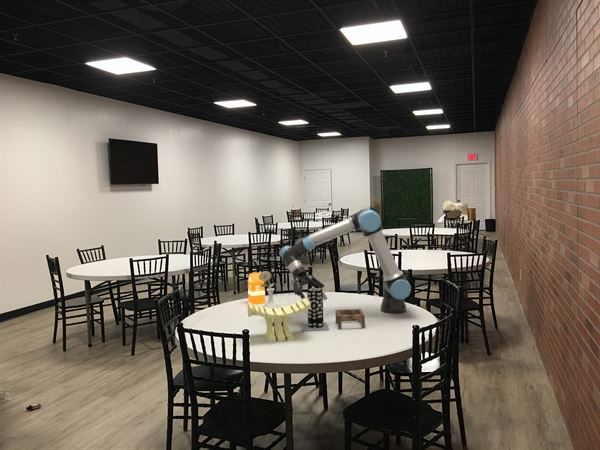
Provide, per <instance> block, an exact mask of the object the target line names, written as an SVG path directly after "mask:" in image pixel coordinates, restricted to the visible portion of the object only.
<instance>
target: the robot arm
mask: <svg viewBox="0 0 600 450" xmlns="http://www.w3.org/2000/svg"><path fill="white" fill-rule="evenodd" d="M359 230H361V233H362V235H363V237H364V238H366V239H368V242H369V244H370V246H371V248H372V250H373V252H374V255H375V257H376V259H377V262H378V264H379V265H380V269H381V270H382V272H383V274H382V285H383V287H382V291H383V293H382V294H383V295H382V296H383V298H382V301H381V304H380V311H381V313H382V312H383V313H385V314H401V313H405V312H407V304H406V302H405V300H404V299H406V298H408V297H409V296H410V294H411V291H412V286H411V284H410V282H409V281H408V280H407V277H405V274H404V271H402V270H400V269H399V267H398V265H397V262H396V260H395V259H394V255H393V253H392V252H391V250H390V247H389V244H388V243H387V240H386V237H385V236H384V233H383V231H384V227H383V225H382V221H381V217H380V215H379V214H378V212H376V211H375V210H373V209H367V208H364V209H361V210H359V211H357V212H355V213H353V214H351V215H348V216H347V218H346V219H343V220H340V221H339V222H337V223H335V224H332V225H329V226H327V227H325V228H322V229H320V230H317V231H315V232H313V233H310V234H308V235H305V236H303V237H299V238H297V240H296V241H295V244H294V245H293V246H290V245H285V246H283V247H282V248H281V249H280V250H279V255H280V258H281V259H282V261H283V263H284V264H285V266H286V267H287V268H288V270H289V272H290V274H292V277H293V278H292V280H291V282H292V283H293V284H292V285H293V289H294V291H293V292H294V295H295V296H296V295H297V296H298V297H300V299H301V300H302V299H304V298H306V299H307V300H308V298H307V294H305V291H303V288H304V287H303V286H305V285H309V286H312V288H321V289H323V301H327V299H328V297H329V296H328V295H327V294H326V291H325V289H324V287H325V285H324V283H322V282H321V281H320V280H318V279H317V278H316V277H315V276H314V275H313V274H312V273H311V274H310V275H308V274H307V272H308V271H307V270H306V269H305V267H304V265H303V263H302V262H301V261H300V260H299V259H301V258H302V257H303V256H304V255H306V254H308V253H309V252H311V251H313V250H314V248H315V247H316V246H319V245H321V244H324V243H326V242H328V241H330V240H333V239H336V238H338V237H341V236H344V235H346V234H348V233H350V232H356V231H359ZM308 301H309V300H308ZM309 302H310V301H309Z"/></svg>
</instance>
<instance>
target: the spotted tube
mask: <svg viewBox="0 0 600 450" xmlns="http://www.w3.org/2000/svg"><path fill="white" fill-rule="evenodd" d="M323 289H324V288H323ZM323 289H321V288H315V287H310V288H307V290H306V297H307V298H308V300H309V301H310V303H311V309H307V323H308V327H310V328H321V327H323V326H324V299H323Z"/></svg>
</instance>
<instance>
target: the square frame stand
mask: <svg viewBox="0 0 600 450" xmlns="http://www.w3.org/2000/svg"><path fill="white" fill-rule="evenodd" d="M334 311H335V312H334V313H335V323H336V324H337V325H338V327H337V329H338V330H342V322H358V323H361V329H365V328H366V317H365V313H364V312H363V311H362V309H361V308H349V309H348V308H347V309H344V308H343V309H334Z"/></svg>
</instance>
